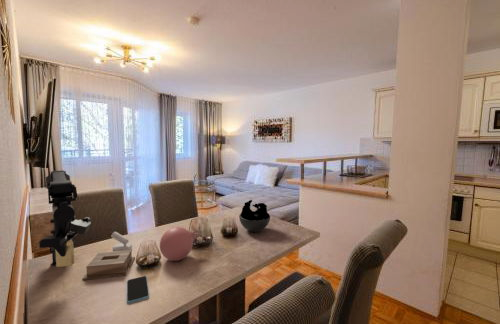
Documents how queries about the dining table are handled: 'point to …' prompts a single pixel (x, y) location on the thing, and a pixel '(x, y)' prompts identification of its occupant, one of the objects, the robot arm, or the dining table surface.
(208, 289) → the dining table surface
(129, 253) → the taupe square box
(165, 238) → the pink rounded piece
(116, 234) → the white spotlight lamp
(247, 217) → the bowl of black rocks
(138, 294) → the smartphone
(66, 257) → the brass bracket
